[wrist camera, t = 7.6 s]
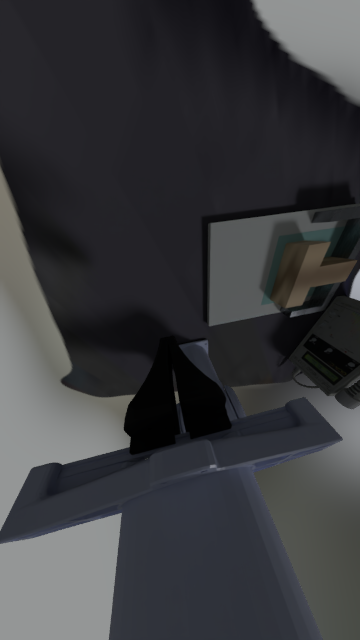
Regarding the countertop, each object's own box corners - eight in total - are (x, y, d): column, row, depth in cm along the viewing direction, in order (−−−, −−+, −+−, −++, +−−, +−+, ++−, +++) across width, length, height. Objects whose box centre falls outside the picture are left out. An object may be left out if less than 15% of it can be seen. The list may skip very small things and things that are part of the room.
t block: (313, 291, 25) (334, 298, 22) (269, 299, 24) (285, 308, 22) (340, 234, 20) (372, 235, 17) (286, 243, 19) (309, 245, 16)
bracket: (312, 304, 27) (324, 310, 25) (279, 311, 26) (289, 317, 24) (361, 205, 18) (387, 202, 16) (314, 212, 18) (335, 209, 16)
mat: (307, 303, 28) (312, 305, 27) (207, 323, 26) (209, 326, 25) (356, 203, 19) (365, 202, 18) (207, 223, 17) (210, 223, 16)
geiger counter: (458, 338, 17) (322, 423, 30) (485, 336, 18) (344, 419, 31) (333, 294, 28) (275, 370, 41) (355, 295, 29) (292, 369, 43)
